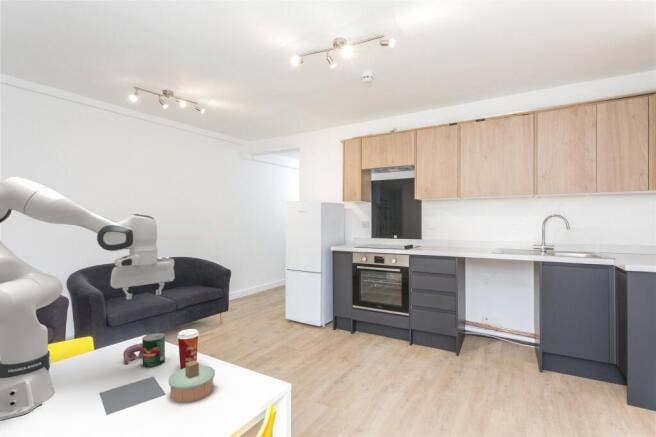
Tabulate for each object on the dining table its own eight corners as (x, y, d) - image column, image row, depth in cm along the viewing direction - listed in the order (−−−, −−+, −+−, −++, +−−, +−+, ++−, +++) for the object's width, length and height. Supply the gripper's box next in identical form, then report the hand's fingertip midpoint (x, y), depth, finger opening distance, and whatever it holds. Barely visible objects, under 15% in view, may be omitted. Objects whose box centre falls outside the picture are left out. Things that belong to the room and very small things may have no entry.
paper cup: (191, 374, 119) (190, 336, 119) (173, 372, 120) (172, 334, 120) (203, 364, 126) (203, 328, 126) (186, 362, 128) (185, 327, 128)
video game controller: (150, 358, 136) (148, 341, 138) (153, 357, 133) (150, 339, 135) (123, 366, 129) (121, 348, 132) (125, 364, 126) (123, 346, 129)
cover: (176, 394, 96) (176, 378, 96) (163, 377, 106) (163, 362, 106) (221, 378, 105) (221, 363, 105) (205, 364, 116) (205, 350, 116)
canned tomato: (141, 370, 122) (141, 341, 122) (142, 362, 129) (142, 335, 129) (165, 366, 125) (165, 337, 125) (165, 358, 132) (164, 331, 132)
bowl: (178, 408, 97) (178, 392, 97) (166, 392, 106) (166, 377, 106) (218, 393, 105) (218, 378, 105) (204, 379, 115) (204, 365, 115)
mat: (106, 416, 94) (106, 414, 94) (99, 394, 106) (99, 392, 106) (166, 395, 104) (166, 394, 104) (153, 377, 116) (153, 376, 116)
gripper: (171, 255, 126) (172, 290, 126) (109, 260, 113) (109, 300, 113) (176, 257, 122) (177, 293, 122) (112, 262, 108) (112, 303, 108)
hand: (144, 296), depth 117 cm, fingers open, 8 cm apart
